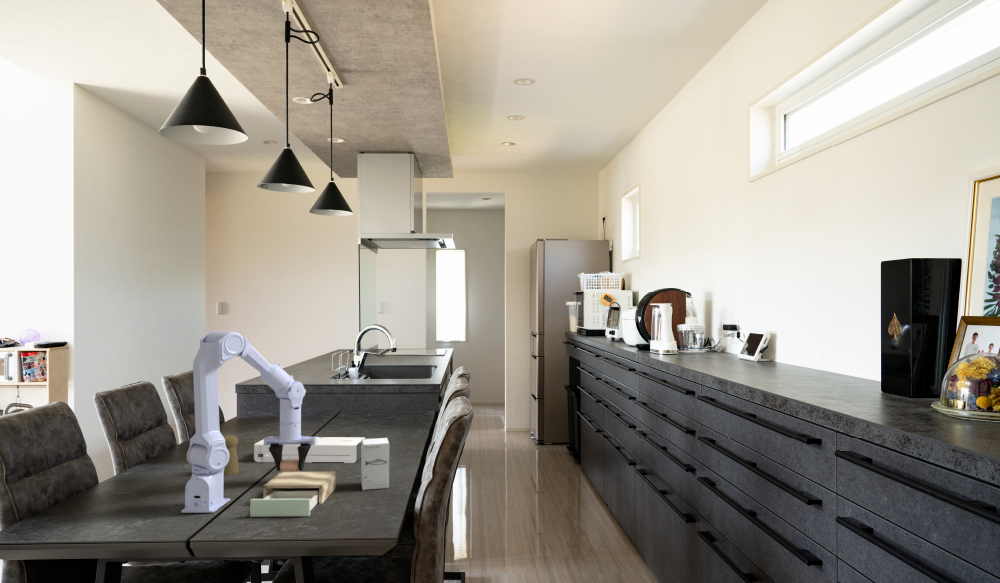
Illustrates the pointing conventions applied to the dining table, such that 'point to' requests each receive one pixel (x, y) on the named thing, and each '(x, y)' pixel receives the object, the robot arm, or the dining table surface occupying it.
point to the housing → (303, 482)
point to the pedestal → (291, 470)
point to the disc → (289, 464)
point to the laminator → (316, 450)
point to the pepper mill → (231, 455)
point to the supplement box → (374, 463)
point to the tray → (284, 504)
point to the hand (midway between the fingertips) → (290, 470)
